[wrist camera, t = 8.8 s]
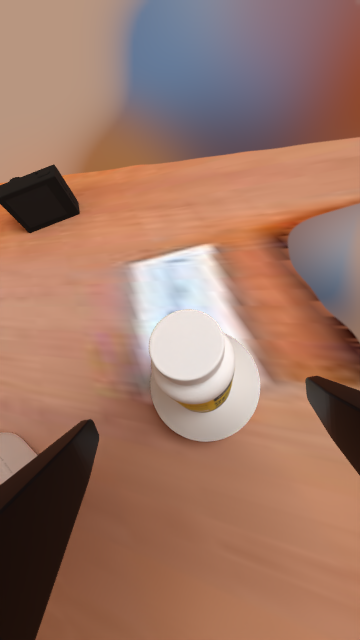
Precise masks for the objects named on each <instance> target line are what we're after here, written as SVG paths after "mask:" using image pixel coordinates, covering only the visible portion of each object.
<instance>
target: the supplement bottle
mask: <svg viewBox="0 0 360 640" xmlns="http://www.w3.org/2000/svg"><path fill="white" fill-rule="evenodd" d="M149 353H150V357H151V368H152V373H153V376H154V379H155V381H156V383H157V384H158V386H159V387H160V389H161V390H162V391H163V392H164V393H165V394H166V395H167V396H169V397H170V398H172V399H173V400H175V401H176V402H178V403H179V404H181V405H182V406H183V407H185V408H186V409H188V410H191V411H193V412H199V413H205V412H210V411H213V410H215V409H217V408H219V407H220V406H221V405H222V404H223V403H224V402H225V401H226V399H227V398H228V396H229V393H230V390H231V387H232V382H233V376H234V371H235V353H234V350H233V347H232V344H231V342H230V340H229V339H228V337H227V336H226V335H225V334H224V333H223V332H222V330H221V328H220V326H219V325H218V323H217V322H216V321H215V320H214V319H213V318H212V317H211V316H209V315H208V314H206V313H204V312H201V311H198V310H192V309H185V310H179V311H176V312H173V313H171V314H169V315H167V316H166V317H164V318H163V319H162V320H161V321H160V322H159V323H158V324H157V325H156V327H155V328H154V330H153V332H152V334H151V337H150V341H149Z"/></svg>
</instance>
